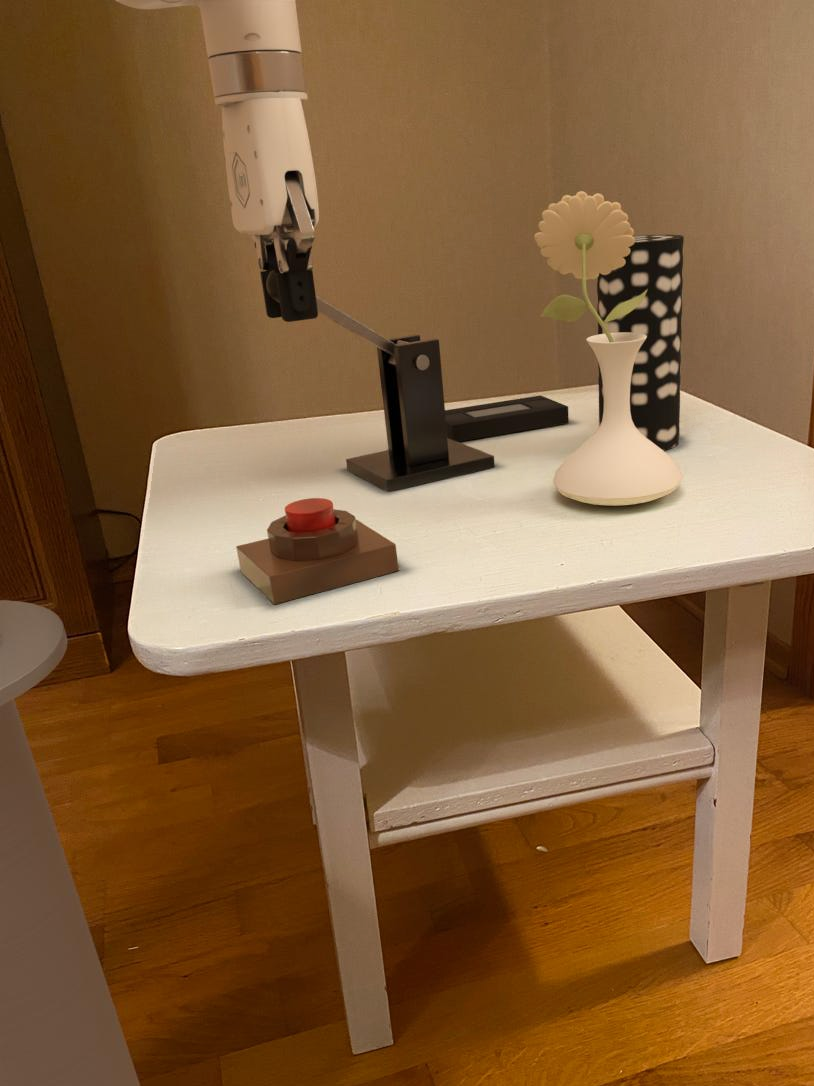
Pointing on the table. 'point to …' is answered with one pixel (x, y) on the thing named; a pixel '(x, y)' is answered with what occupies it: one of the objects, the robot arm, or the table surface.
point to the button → (310, 515)
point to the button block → (315, 558)
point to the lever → (341, 320)
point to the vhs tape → (504, 417)
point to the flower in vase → (603, 358)
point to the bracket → (415, 423)
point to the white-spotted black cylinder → (649, 332)
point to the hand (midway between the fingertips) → (292, 315)
